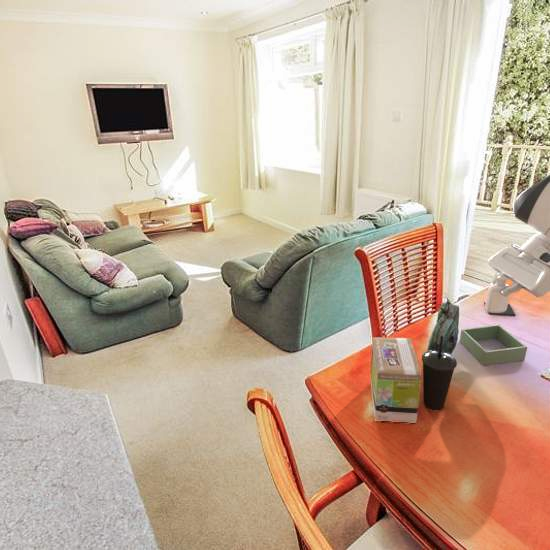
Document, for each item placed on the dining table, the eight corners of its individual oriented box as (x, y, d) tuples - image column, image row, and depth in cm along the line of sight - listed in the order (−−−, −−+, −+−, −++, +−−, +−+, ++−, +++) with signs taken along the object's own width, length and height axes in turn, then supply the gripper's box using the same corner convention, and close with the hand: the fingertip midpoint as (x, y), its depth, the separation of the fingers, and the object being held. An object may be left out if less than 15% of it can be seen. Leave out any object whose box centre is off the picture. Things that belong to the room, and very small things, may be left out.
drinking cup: (443, 420, 89) (453, 350, 81) (412, 405, 94) (418, 339, 86) (454, 401, 94) (465, 334, 86) (424, 389, 99) (431, 324, 91)
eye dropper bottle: (506, 315, 106) (514, 277, 101) (484, 312, 109) (490, 274, 104) (506, 308, 110) (514, 271, 105) (484, 305, 112) (491, 268, 107)
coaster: (509, 304, 134) (509, 303, 134) (515, 316, 127) (515, 314, 127) (484, 303, 136) (484, 302, 136) (489, 314, 129) (489, 313, 129)
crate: (496, 336, 117) (499, 324, 115) (524, 360, 106) (527, 347, 104) (459, 341, 116) (461, 329, 115) (483, 365, 105) (485, 352, 103)
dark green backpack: (436, 346, 115) (443, 288, 107) (459, 352, 112) (468, 292, 103) (418, 384, 100) (425, 320, 92) (444, 393, 97) (453, 327, 89)
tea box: (418, 425, 88) (423, 374, 82) (374, 422, 90) (375, 373, 84) (407, 382, 102) (411, 336, 96) (369, 380, 103) (371, 335, 97)
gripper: (506, 236, 111) (470, 269, 115) (560, 262, 93) (514, 301, 96) (518, 248, 113) (481, 281, 117) (572, 277, 95) (527, 314, 98)
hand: (497, 290), depth 106 cm, fingers closed on eye dropper bottle, 3 cm apart
